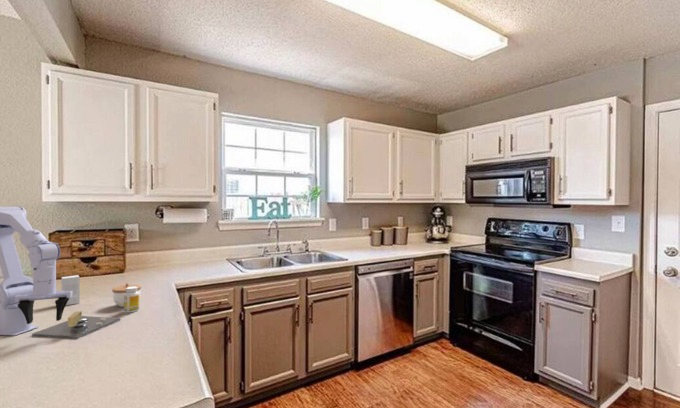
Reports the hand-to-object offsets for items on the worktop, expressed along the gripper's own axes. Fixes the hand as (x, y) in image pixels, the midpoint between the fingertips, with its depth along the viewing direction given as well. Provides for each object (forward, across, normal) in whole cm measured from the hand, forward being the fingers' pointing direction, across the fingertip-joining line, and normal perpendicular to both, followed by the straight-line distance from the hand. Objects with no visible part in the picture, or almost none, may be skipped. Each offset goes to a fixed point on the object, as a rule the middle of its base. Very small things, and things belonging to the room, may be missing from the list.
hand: (44, 321), depth 111 cm
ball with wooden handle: (+3, +8, +3) cm, 9 cm away
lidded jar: (+5, +18, +32) cm, 37 cm away
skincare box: (+5, -6, +43) cm, 44 cm away
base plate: (+5, +8, +6) cm, 11 cm away
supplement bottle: (+5, +21, +21) cm, 31 cm away
